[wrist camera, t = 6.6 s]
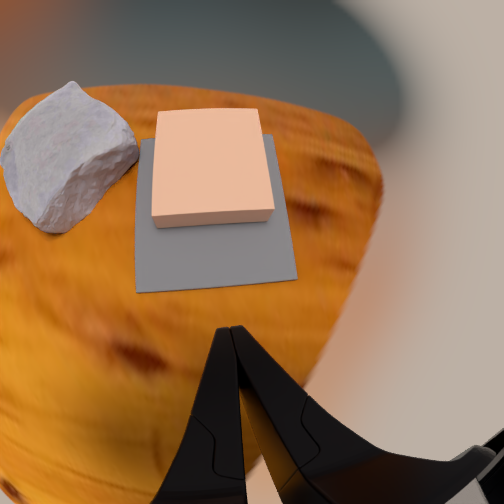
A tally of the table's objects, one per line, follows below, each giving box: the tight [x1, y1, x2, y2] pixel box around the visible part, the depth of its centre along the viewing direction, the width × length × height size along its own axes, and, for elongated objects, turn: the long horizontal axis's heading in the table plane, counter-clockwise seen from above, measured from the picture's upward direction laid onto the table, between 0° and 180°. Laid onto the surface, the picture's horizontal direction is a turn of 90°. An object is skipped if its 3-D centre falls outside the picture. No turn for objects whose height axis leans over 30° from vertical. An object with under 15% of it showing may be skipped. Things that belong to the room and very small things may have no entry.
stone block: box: [0, 81, 139, 234], centre depth 16 cm, size 12×5×10 cm
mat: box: [135, 134, 298, 293], centre depth 18 cm, size 11×10×1 cm
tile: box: [152, 108, 275, 228], centre depth 17 cm, size 2×7×8 cm
